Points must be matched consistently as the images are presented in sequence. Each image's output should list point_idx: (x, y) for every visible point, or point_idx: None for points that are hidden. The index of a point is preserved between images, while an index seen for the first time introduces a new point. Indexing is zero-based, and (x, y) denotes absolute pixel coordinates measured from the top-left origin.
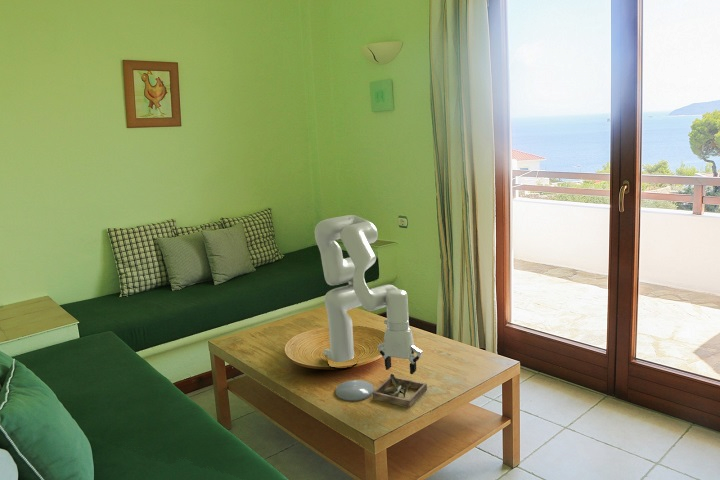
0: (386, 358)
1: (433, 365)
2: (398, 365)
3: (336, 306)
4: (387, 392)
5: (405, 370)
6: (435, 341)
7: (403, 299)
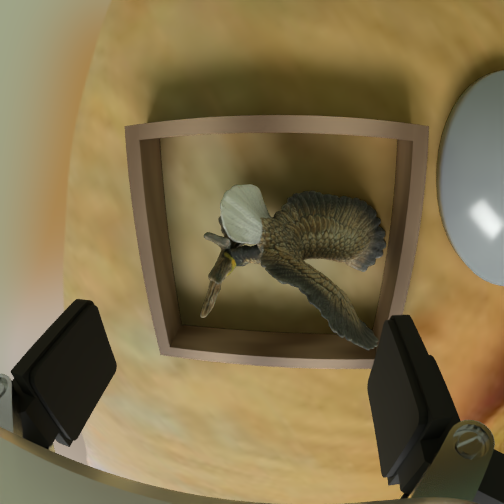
0: (435, 443)
1: (257, 470)
2: None
3: None
4: (346, 203)
5: (345, 434)
6: None
7: None
